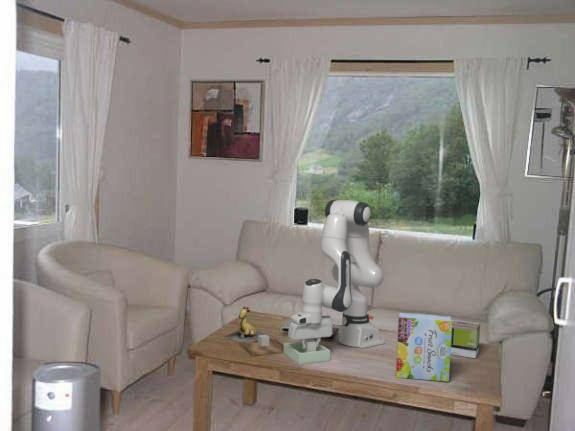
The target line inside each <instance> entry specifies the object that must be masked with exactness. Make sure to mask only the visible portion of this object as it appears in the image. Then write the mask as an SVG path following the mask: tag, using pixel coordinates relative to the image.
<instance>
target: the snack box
mask: <svg viewBox="0 0 575 431" xmlns="http://www.w3.org/2000/svg"><path fill="white" fill-rule="evenodd" d="M397 318H398V319H397V322H398V323H397V333H396V334H397V335H396V336H397V339H396V354H395V356H396V359H395V377H396V379H397V378H401V379H413V380H423V381H435V382H447V383H449V382H450V368H451V367H450V366H451V363H450V362H451V354H450V353H451V336H452V320H451V319H452V317H451V316H450V315H449V316H448V315H437V314H424V313H407V312H398V317H397Z"/></svg>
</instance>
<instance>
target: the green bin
mask: <svg viewBox="0 0 575 431" xmlns="http://www.w3.org/2000/svg"><path fill="white" fill-rule="evenodd" d="M312 340H313V339H312ZM313 341H314V342H315V341H316V340H313ZM283 344H284V352H283V353H282V354H283V355H284V356H286V357H287V358H289V360H291V361H292V362H294V363H295V364H296V365H298V366H303V365H309V364H317V363H326V362H330V360H331V350H330V349H329V348H327V347H325V346H324V345H322V344H320V342H319V343H318V347H317V348H316V351H314V352H306V351H305V350H304V349H303V348H302V343H301V341H294V342H285V343H283Z"/></svg>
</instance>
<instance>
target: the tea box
mask: <svg viewBox="0 0 575 431" xmlns="http://www.w3.org/2000/svg"><path fill="white" fill-rule="evenodd" d="M451 320H452V336H451V353H450V355H452V356H458V357H465V358H470V359H476V358H477V357H478V354H479V348H480V337H481V336H480V331H481V323H480V322H475V321H469V320H468V321H467V320H463V319H462V320H460V319H453V318H451Z"/></svg>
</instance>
